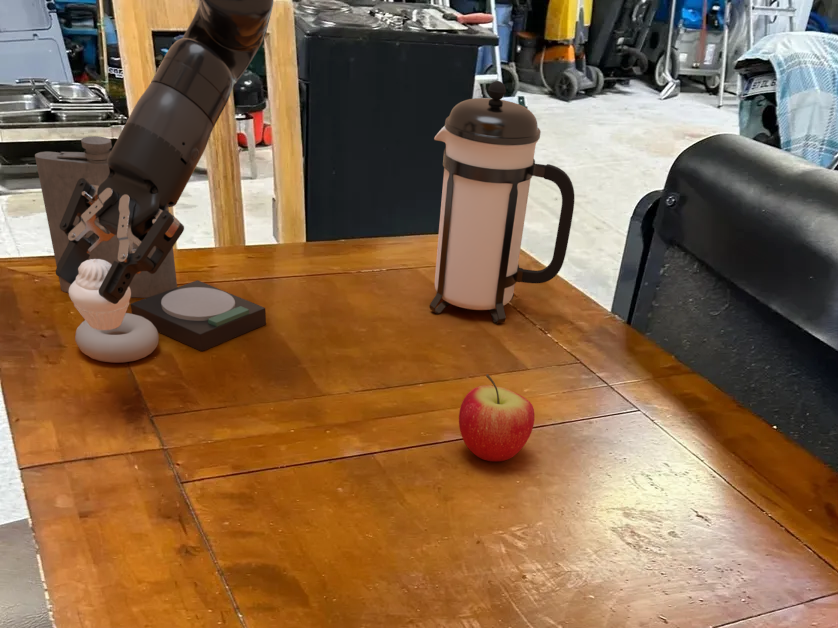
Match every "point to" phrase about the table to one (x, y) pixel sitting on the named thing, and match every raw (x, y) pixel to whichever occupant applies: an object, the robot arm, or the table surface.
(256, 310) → the scale
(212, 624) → the table surface
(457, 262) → the coffee press
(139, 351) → the donut
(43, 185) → the hip flask
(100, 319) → the muffin
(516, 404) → the apple
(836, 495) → the table surface
